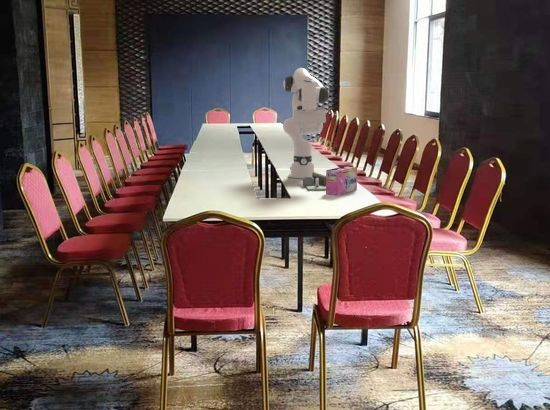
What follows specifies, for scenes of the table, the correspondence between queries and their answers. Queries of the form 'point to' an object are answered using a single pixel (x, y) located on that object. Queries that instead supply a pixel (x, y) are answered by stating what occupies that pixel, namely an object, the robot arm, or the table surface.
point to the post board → (321, 188)
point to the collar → (308, 181)
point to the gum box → (341, 180)
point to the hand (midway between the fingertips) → (309, 130)
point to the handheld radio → (321, 178)
